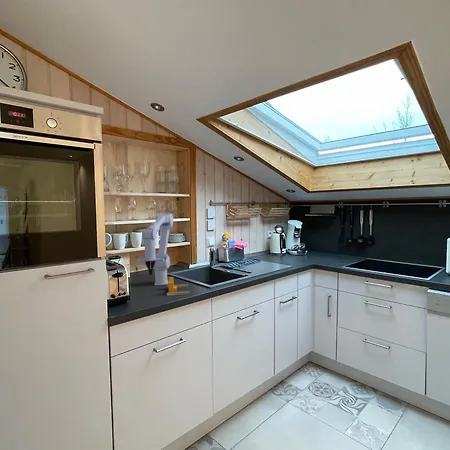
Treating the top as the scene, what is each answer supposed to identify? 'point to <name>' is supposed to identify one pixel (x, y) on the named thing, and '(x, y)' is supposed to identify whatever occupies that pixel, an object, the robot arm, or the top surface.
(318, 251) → the top surface
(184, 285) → the rail channel
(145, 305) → the top surface
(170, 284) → the pipe clamp
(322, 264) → the top surface
